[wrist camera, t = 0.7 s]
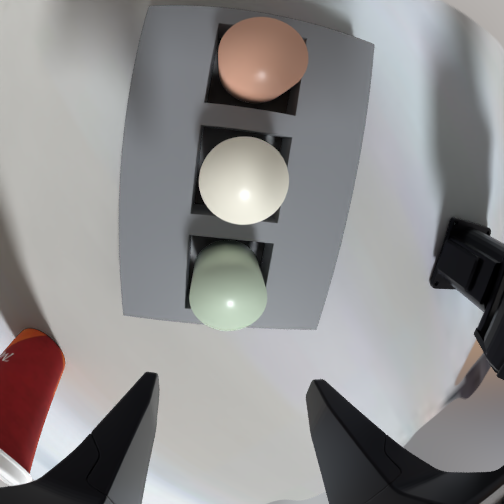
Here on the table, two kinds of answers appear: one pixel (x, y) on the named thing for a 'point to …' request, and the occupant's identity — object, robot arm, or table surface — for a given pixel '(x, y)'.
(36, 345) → the paper cup
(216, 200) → the cream button
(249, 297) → the sage button
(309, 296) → the grey flat board
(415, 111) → the table surface
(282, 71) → the pink button
